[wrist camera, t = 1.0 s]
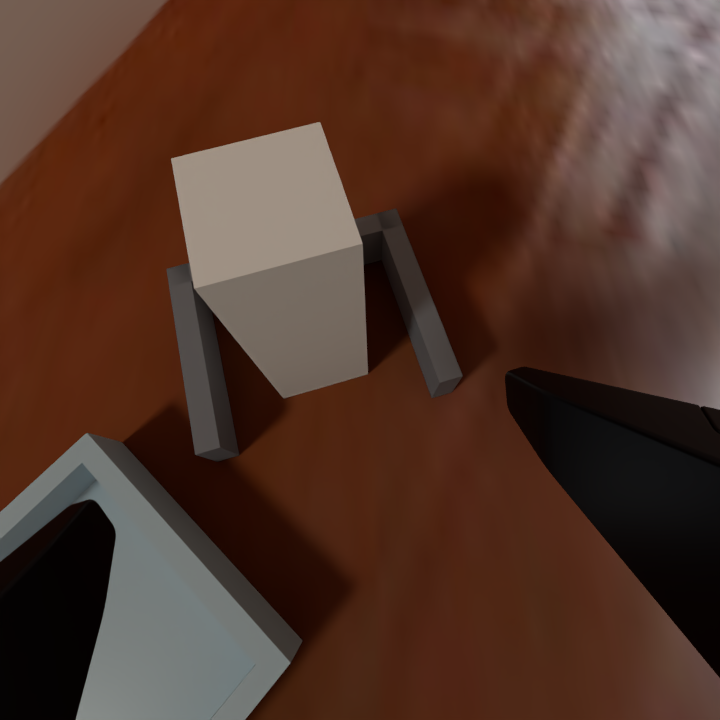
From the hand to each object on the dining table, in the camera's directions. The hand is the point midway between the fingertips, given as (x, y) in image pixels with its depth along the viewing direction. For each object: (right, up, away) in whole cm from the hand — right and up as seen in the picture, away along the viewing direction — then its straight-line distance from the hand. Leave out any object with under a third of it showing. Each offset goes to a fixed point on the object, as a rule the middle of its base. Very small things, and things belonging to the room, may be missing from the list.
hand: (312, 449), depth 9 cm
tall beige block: (-2, +3, +16) cm, 16 cm away
